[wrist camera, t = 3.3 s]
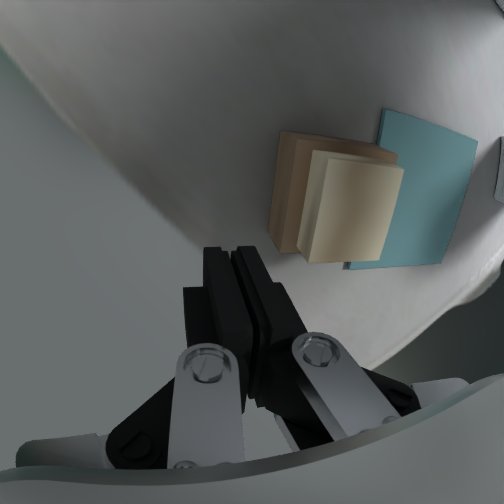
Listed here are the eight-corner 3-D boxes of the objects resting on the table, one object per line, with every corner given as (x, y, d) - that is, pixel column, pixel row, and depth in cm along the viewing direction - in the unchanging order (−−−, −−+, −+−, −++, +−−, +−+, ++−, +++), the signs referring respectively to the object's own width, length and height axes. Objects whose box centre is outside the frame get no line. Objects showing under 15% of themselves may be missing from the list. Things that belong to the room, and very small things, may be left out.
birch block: (384, 159, 17) (404, 169, 15) (363, 244, 20) (378, 260, 18) (312, 149, 16) (328, 158, 14) (296, 246, 19) (308, 263, 17)
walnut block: (373, 143, 19) (398, 154, 17) (353, 231, 23) (373, 251, 20) (280, 130, 18) (296, 139, 15) (267, 231, 21) (279, 253, 19)
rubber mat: (475, 140, 21) (478, 141, 20) (438, 261, 27) (440, 263, 27) (382, 108, 18) (386, 109, 18) (347, 266, 25) (349, 269, 24)
